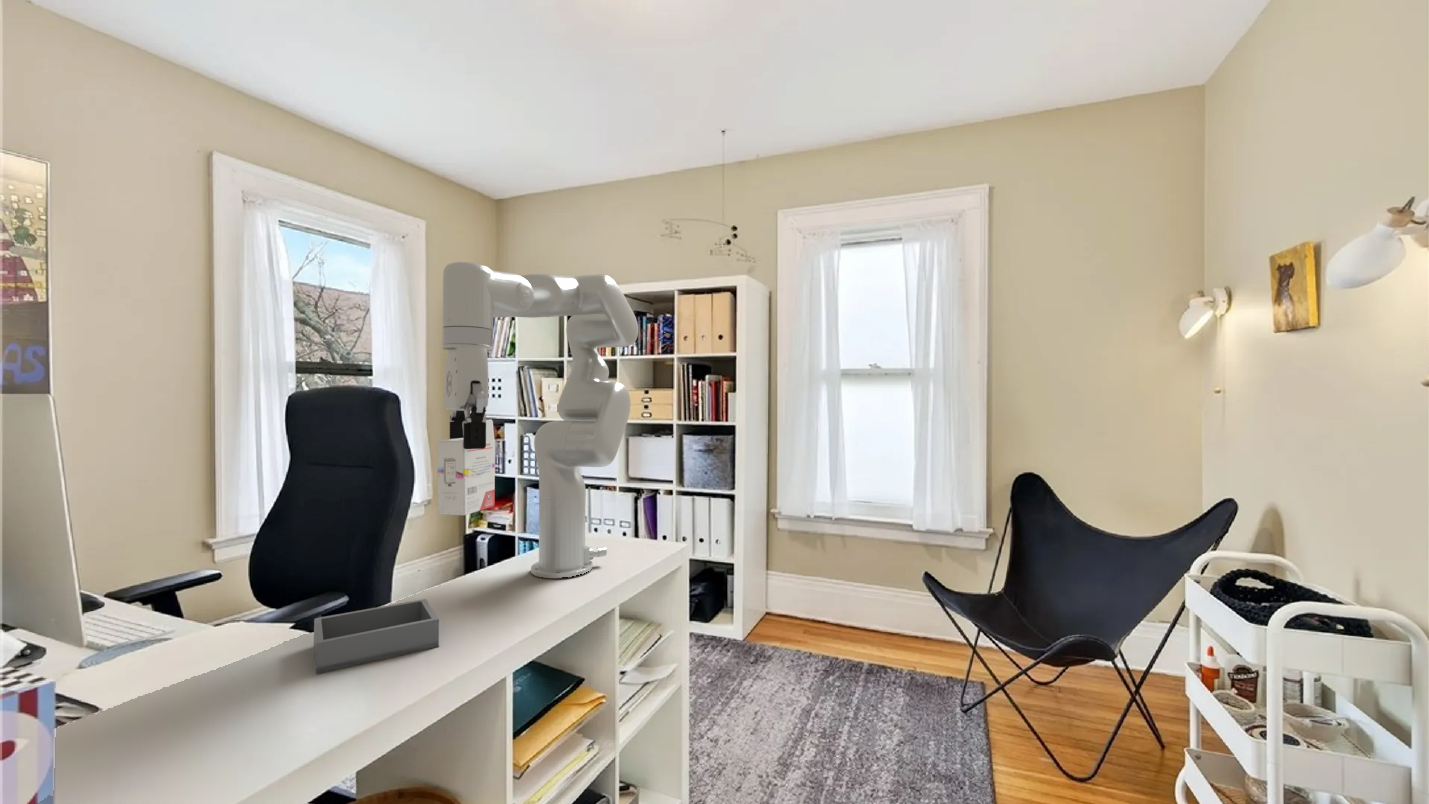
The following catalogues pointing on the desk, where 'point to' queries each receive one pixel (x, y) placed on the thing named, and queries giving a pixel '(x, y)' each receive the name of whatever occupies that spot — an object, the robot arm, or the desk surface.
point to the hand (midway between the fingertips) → (467, 446)
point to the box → (374, 634)
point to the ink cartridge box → (466, 475)
